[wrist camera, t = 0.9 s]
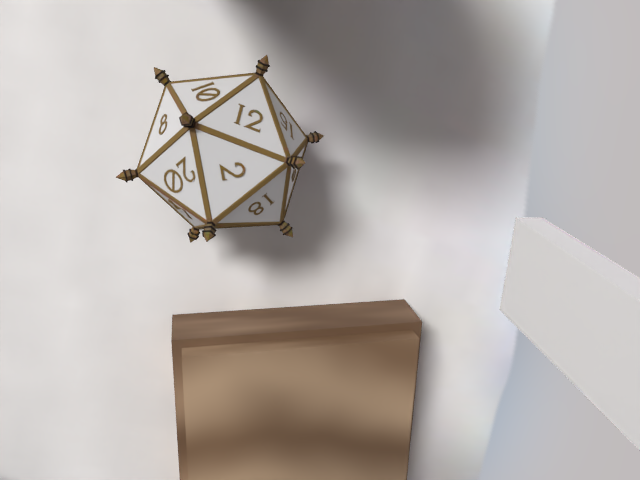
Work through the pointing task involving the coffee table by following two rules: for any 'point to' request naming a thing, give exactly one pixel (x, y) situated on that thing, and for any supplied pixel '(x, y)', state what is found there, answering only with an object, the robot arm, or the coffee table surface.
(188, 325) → the plinth
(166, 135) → the game die
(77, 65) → the coffee table surface
